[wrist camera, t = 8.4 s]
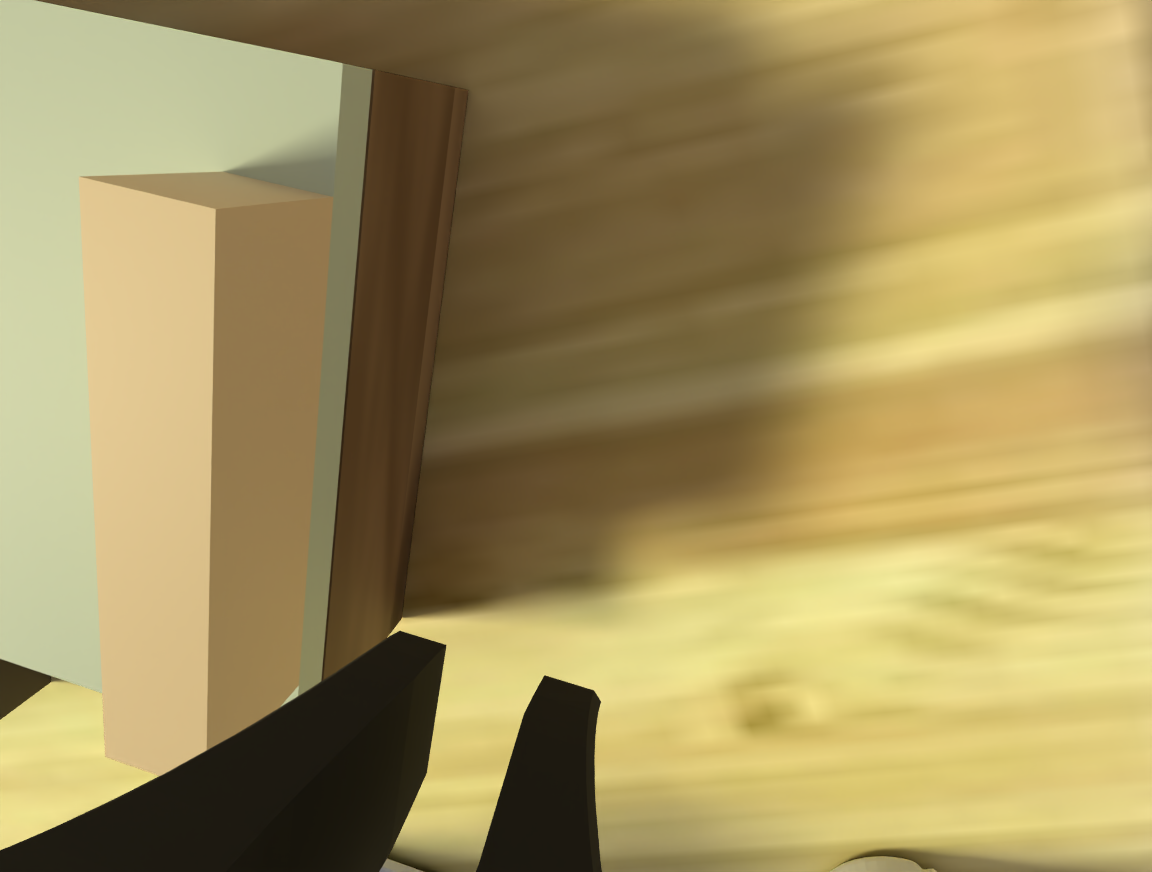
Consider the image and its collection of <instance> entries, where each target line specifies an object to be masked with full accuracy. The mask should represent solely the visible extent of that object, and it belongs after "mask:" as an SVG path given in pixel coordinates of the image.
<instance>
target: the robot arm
mask: <svg viewBox="0 0 1152 872" xmlns="http://www.w3.org/2000/svg"><path fill="white" fill-rule="evenodd" d="M445 651H446V645H444V644H441V643H438V642H435V641H431V640H428V639H425V638H422V637H418V636H415V635H412V634H409V633H405V632H402V631H399V632H397V633H395V634H393V635H391V636H389V637H388V638H386V639H385V640H383V641H382V642H380V643H379V644H377V645H376V646H374V647H373V648H371V649H370V650H368V651H367V652H365V653H364V654H362V655H361V656H359V657H358V658H356V659H355V660H353V661H352V662H350V663H349V664H347V665H346V666H344V667H342V668H341V669H339V670H338V671H336V672H335V673H333V674H332V675H330V676H329V677H327V678H326V679H324V680H323V681H321V682H319V683H318V684H316V685H315V686H313V687H312V688H310V689H309V690H307V691H306V692H304V693H302V694H301V695H299V696H297V697H296V698H294V699H293V700H291V701H289V702H288V703H286V704H284V705H283V706H281V707H280V708H278V709H276V710H275V711H273V712H271V713H270V714H268V715H267V716H265V717H263V718H262V719H260V720H258V721H257V722H255V723H254V724H252V725H250V726H249V727H247V728H245V729H243V730H242V731H240V732H238V733H237V734H235V735H233V736H231V737H230V738H228V739H226V740H224V741H222V742H221V743H219V744H217V745H215V746H213V747H212V748H210V749H208V750H206V751H204V752H203V753H201V754H199V755H197V756H195V757H194V758H192V759H190V760H188V761H186V762H185V763H183V764H181V765H179V766H177V767H176V768H174V769H172V770H170V771H168V772H167V773H165V774H163V775H161V776H159V777H157V778H155V779H153V780H151V781H149V782H147V783H145V784H143V785H141V786H139V787H137V788H136V789H134V790H132V791H130V792H128V793H126V794H124V795H122V796H120V797H118V798H115V799H113V800H111V801H109V802H107V803H105V804H103V805H101V806H99V807H97V808H95V809H93V810H90V811H88V812H86V813H84V814H82V815H80V816H78V817H76V818H73V819H71V820H69V821H67V822H65V823H63V824H61V825H58V826H56V827H54V828H52V829H50V830H47V831H45V832H43V833H41V834H38V835H36V836H33V837H31V838H29V839H26V840H24V841H22V842H19V843H17V844H15V845H12V846H10V847H8V848H5V849H3V850H0V872H424V871H421V870H418V869H415V868H413V867H410V866H407V865H404V864H401V863H398V862H395V861H393V860H390V859H387V858H388V856H389V854H390V852H391V850H392V848H393V846H394V844H395V842H396V839H397V837H398V835H399V833H400V831H401V829H402V827H403V824H404V822H405V820H406V818H407V816H408V814H409V811H410V809H411V807H412V805H413V802H414V800H415V798H416V796H417V794H418V791H419V789H420V787H421V785H422V782H423V780H424V778H425V776H426V773H427V767H428V761H429V754H430V748H431V741H432V735H433V729H434V722H435V716H436V709H437V703H438V696H439V690H440V683H441V677H442V670H443V664H444V657H445ZM600 703H601V701H600V699H599V698H598V696H597V694H596V693H595V691H594V690H590V689H587V688H584V687H581V686H577V685H574V684H571V683H568V682H564V681H561V680H558V679H555V678H551V677H548V676H545V675H544V677H543V679H542V681H541V683H540V684H539V686H538V688H537V690H536V692H535V693H534V695H533V697H532V699H531V701H530V703H529V705H528V707H527V709H526V711H525V713H524V716H523V719H522V723H521V726H520V729H519V732H518V736H517V739H516V742H515V746H514V749H513V752H512V756H511V759H510V762H509V766H508V769H507V772H506V776H505V779H504V782H503V786H502V789H501V792H500V796H499V799H498V802H497V806H496V809H495V812H494V816H493V819H492V822H491V826H490V829H489V832H488V836H487V839H486V842H485V846H484V849H483V852H482V856H481V859H480V862H479V865H478V868H477V870H476V872H602V870H601V862H600V851H599V840H598V828H597V816H596V803H595V766H594V754H595V734H596V724H597V717H598V711H599V707H600Z"/></svg>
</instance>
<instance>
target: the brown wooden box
mask: <svg viewBox="0 0 1152 872" xmlns="http://www.w3.org/2000/svg"><path fill="white" fill-rule="evenodd" d="M467 97H468V90H466V89H461V88H457V87H452V86H447V85H442V84H438V83H433V82H428V81H424V80H419V79H414V78H410V77H405V76H400V75H396V74H391V73H386V72H382V71H377V70H372V82H371V94H370V106H369V118H368V130H367V142H366V154H365V166H364V178H363V189H362V201H361V213H360V225H359V237H358V249H357V261H356V273H355V285H354V297H353V309H352V321H351V333H350V344H349V356H348V368H347V380H346V392H345V404H344V416H343V428H342V440H341V452H340V464H339V476H338V488H337V499H336V511H335V523H334V535H333V547H332V559H331V571H330V583H329V595H328V607H327V619H326V631H325V643H324V654H323V666H322V678H321V681H323V680H324V679H326V678H327V677H329V676H330V675H332V674H333V673H335V672H336V671H338V670H339V669H341V668H342V667H344V666H346V665H347V664H349V663H350V662H352V661H353V660H355V659H356V658H358V657H359V656H361V655H362V654H364V653H365V652H367V651H368V650H370V649H371V648H373V647H374V646H376V645H377V644H379V643H380V642H382V641H383V640H385V639H386V638H387V637H388V636H389V634H390V633H391V632H392V630H393V629H394V628H395V627H396V625H397V624H398V623H399V621H400V620H401V618H402V610H403V603H404V595H405V587H406V579H407V571H408V563H409V555H410V547H411V539H412V531H413V524H414V516H415V508H416V500H417V492H418V484H419V476H420V468H421V460H422V452H423V445H424V437H425V429H426V421H427V413H428V405H429V397H430V389H431V381H432V373H433V366H434V358H435V350H436V342H437V334H438V326H439V318H440V310H441V302H442V294H443V287H444V279H445V271H446V263H447V255H448V247H449V239H450V231H451V223H452V215H453V208H454V200H455V192H456V184H457V176H458V168H459V160H460V152H461V144H462V136H463V129H464V121H465V113H466V105H467Z"/></svg>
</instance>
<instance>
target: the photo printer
mask: <svg viewBox="0 0 1152 872" xmlns="http://www.w3.org/2000/svg"><path fill="white" fill-rule="evenodd" d="M830 872H937V871H936V870H935V869H922V868H921V867H920V866H919V865H918V864H917V863H915V862H914V861H911V860H907V859H903V858H897V857H887V856H877V857H865V858H860V859H855V860H851V861H848V862H846V863H843V864H841V865H839V866H837V867H836V868H834V869H832V870H831V871H830Z"/></svg>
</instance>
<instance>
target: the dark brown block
mask: <svg viewBox="0 0 1152 872" xmlns="http://www.w3.org/2000/svg"><path fill="white" fill-rule="evenodd" d="M50 682H51V676H50V675H47V674H44V673H41V672H38V671H35V670H32V669H29V668H26V667H23V666H20V665H17V664H14V663H11V662H8V661H5V660H2V659H0V719H2V718H3V717H4V716H6V715H7V714H8V713H10V712H11V711H13V710H14V709H15V708H17V707H18V706H19V705H21V704H22V703H23V702H25V701H26V700H27V699H29V698H30V697H31V696H33V695H34V694H35V693H37V692H38V691H39V690H41V689H42V688H44V687H45V686H46V685H48V684H49V683H50Z"/></svg>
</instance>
